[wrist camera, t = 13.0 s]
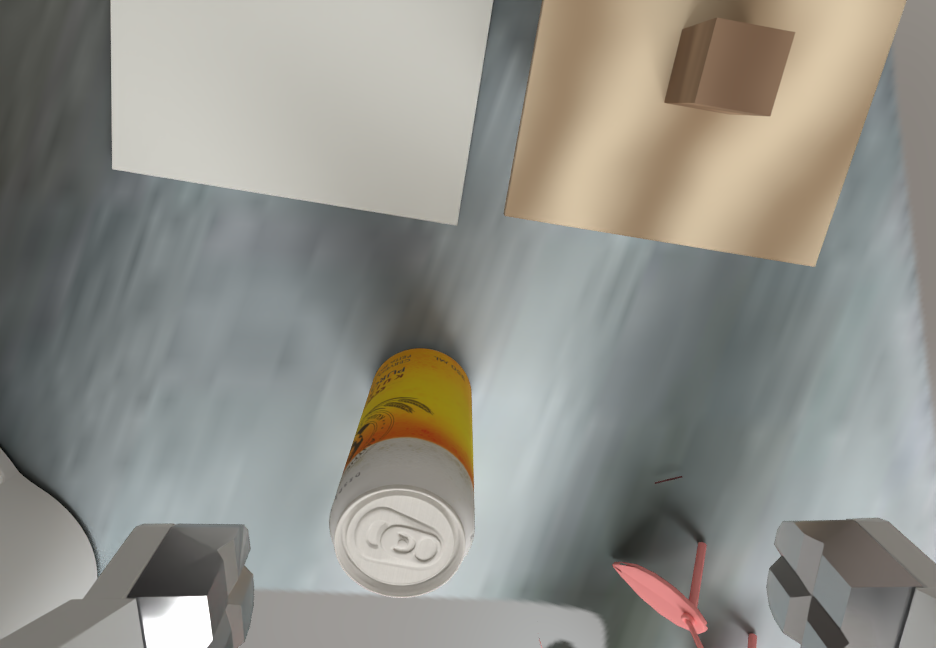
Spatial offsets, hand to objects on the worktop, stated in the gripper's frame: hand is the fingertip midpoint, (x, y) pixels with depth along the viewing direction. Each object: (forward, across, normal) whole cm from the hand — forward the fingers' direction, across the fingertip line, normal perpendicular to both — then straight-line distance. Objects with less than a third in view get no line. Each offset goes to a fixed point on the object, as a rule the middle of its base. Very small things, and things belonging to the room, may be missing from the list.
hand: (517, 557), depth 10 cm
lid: (+22, -10, -8) cm, 26 cm away
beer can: (+29, +2, +10) cm, 31 cm away
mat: (+29, +8, -11) cm, 32 cm away
